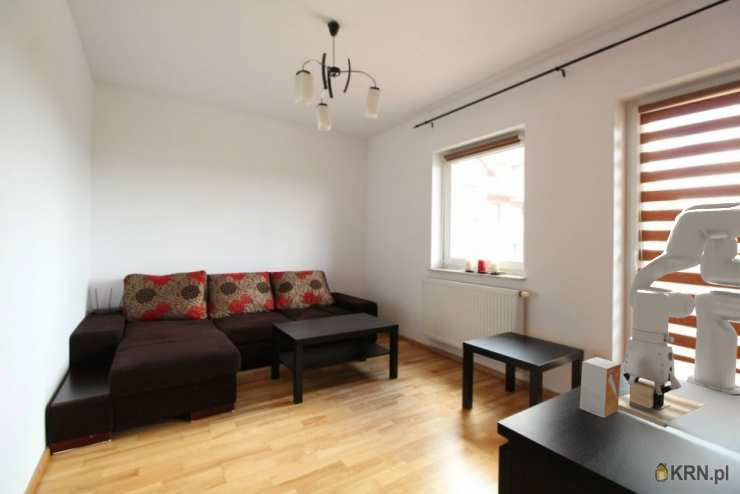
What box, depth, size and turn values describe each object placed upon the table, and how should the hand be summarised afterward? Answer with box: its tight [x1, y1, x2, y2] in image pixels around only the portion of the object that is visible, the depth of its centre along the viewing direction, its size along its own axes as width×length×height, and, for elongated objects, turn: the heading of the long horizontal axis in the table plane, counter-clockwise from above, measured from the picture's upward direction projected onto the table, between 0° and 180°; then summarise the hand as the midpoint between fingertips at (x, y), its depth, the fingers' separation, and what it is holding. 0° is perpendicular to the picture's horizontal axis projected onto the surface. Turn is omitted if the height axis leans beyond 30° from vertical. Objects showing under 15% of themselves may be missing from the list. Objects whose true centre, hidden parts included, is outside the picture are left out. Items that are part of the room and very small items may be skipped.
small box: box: [579, 356, 622, 419], centre depth 96 cm, size 8×6×13 cm
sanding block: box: [629, 378, 662, 413], centre depth 96 cm, size 7×4×6 cm, turn 119°
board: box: [618, 392, 705, 428], centre depth 99 cm, size 23×13×1 cm, turn 119°
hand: (645, 402), depth 96 cm, fingers closed on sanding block, 4 cm apart
